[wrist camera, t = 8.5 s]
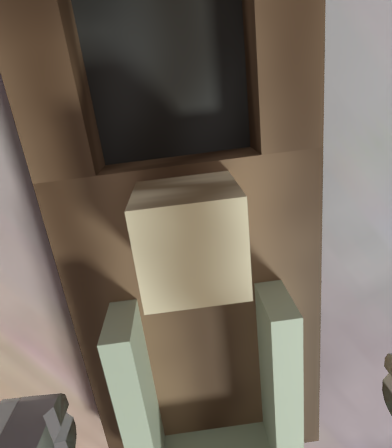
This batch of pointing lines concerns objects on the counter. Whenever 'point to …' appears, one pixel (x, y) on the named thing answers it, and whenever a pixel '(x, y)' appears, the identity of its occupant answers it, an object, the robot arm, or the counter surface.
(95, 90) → the board
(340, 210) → the counter surface
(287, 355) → the cubby
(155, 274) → the cube
